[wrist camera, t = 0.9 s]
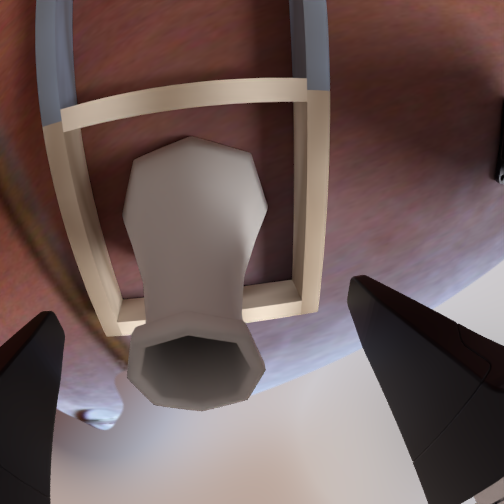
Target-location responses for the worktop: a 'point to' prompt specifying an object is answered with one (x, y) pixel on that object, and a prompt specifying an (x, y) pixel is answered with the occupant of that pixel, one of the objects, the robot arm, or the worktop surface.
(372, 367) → the robot arm
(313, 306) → the caddy
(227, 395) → the flask
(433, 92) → the worktop surface
